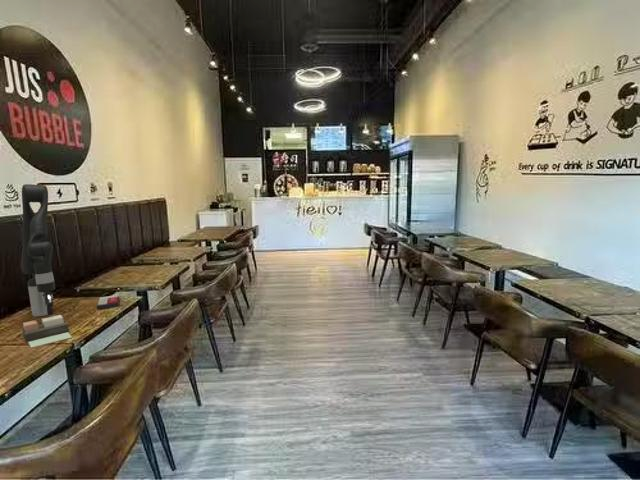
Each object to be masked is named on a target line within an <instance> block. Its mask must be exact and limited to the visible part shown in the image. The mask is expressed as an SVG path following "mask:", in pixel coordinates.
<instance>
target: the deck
mask: <svg viewBox="0 0 640 480" xmlns="http://www.w3.org/2000/svg"><path fill="white" fill-rule="evenodd" d="M63 321H64V323H62V324H58V325H54V326H50V327H44V326H43V324H42V323H38V329H37V330H32V331H28V332H25V330H24V327H22V328H21V329H22V337H23V338H24V340H25V342H26V343H27V342H30V341H34V340H38V339H42V338H46V337H50V336H54V335H58V334H62V333H66V332H68V333H70V331H69V330H70V329H69V324H68V323H67V322H66V320H65V319H63Z"/></svg>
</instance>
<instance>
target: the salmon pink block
mask: <svg viewBox="0 0 640 480" xmlns="http://www.w3.org/2000/svg"><path fill="white" fill-rule="evenodd" d="M22 324H23V328H24V330H25V332H28V331H32V330H37V329H38V324H39V323H38V322H37V321H36V320H30V321H26V322H22Z"/></svg>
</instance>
